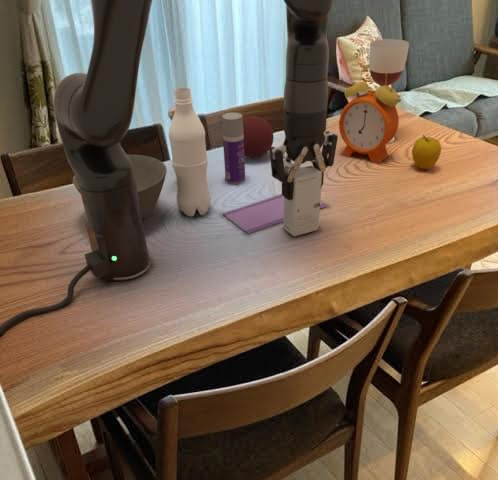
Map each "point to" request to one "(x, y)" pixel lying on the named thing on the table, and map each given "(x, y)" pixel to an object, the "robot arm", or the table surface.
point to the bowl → (145, 180)
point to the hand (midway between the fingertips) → (302, 193)
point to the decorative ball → (256, 137)
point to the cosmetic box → (303, 202)
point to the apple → (426, 152)
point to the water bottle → (189, 155)
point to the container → (233, 148)
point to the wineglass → (387, 60)
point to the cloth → (260, 214)
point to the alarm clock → (369, 120)
